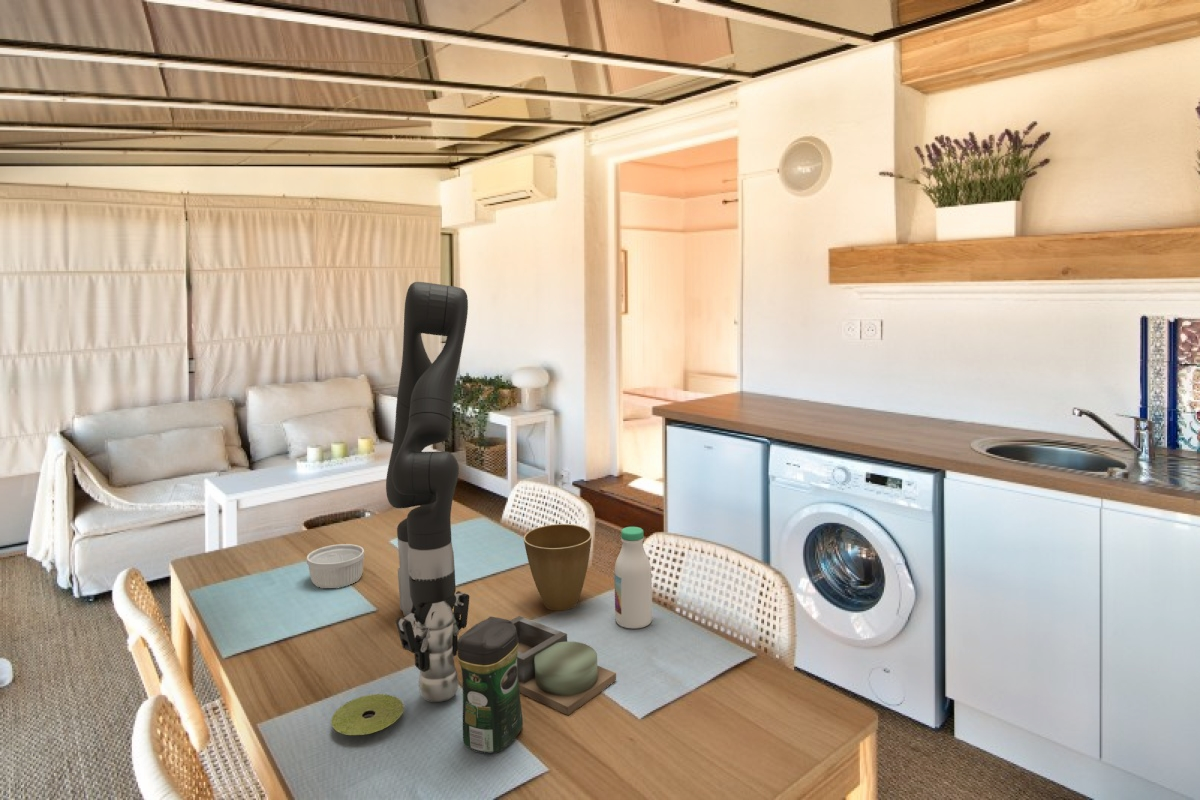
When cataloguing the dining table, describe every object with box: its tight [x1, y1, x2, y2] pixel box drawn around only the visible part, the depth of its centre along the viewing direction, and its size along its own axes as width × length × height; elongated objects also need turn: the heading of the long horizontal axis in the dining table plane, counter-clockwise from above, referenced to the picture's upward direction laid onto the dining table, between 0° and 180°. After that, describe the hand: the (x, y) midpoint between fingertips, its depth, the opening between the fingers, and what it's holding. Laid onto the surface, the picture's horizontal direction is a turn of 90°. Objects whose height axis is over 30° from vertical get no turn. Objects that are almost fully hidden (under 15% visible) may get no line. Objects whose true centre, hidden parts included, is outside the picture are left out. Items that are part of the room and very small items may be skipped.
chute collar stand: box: [509, 615, 617, 716], centre depth 130 cm, size 24×13×6 cm, turn 51°
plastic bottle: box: [414, 601, 460, 703], centre depth 122 cm, size 6×7×20 cm
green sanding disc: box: [330, 693, 405, 736], centre depth 117 cm, size 11×11×2 cm
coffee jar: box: [457, 616, 524, 754], centre depth 111 cm, size 10×8×19 cm
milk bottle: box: [614, 526, 653, 630], centre depth 149 cm, size 8×8×20 cm
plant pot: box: [523, 523, 593, 612], centre depth 158 cm, size 15×15×16 cm
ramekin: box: [306, 543, 365, 589], centre depth 175 cm, size 13×13×7 cm
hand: (437, 661), depth 123 cm, fingers closed on plastic bottle, 5 cm apart
